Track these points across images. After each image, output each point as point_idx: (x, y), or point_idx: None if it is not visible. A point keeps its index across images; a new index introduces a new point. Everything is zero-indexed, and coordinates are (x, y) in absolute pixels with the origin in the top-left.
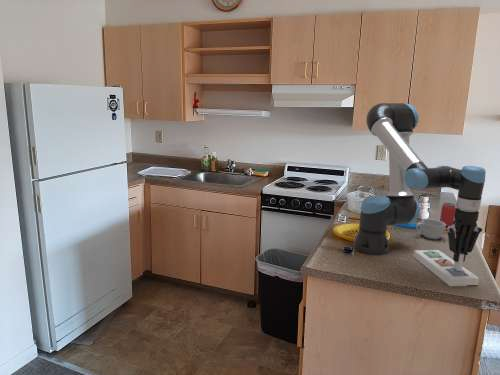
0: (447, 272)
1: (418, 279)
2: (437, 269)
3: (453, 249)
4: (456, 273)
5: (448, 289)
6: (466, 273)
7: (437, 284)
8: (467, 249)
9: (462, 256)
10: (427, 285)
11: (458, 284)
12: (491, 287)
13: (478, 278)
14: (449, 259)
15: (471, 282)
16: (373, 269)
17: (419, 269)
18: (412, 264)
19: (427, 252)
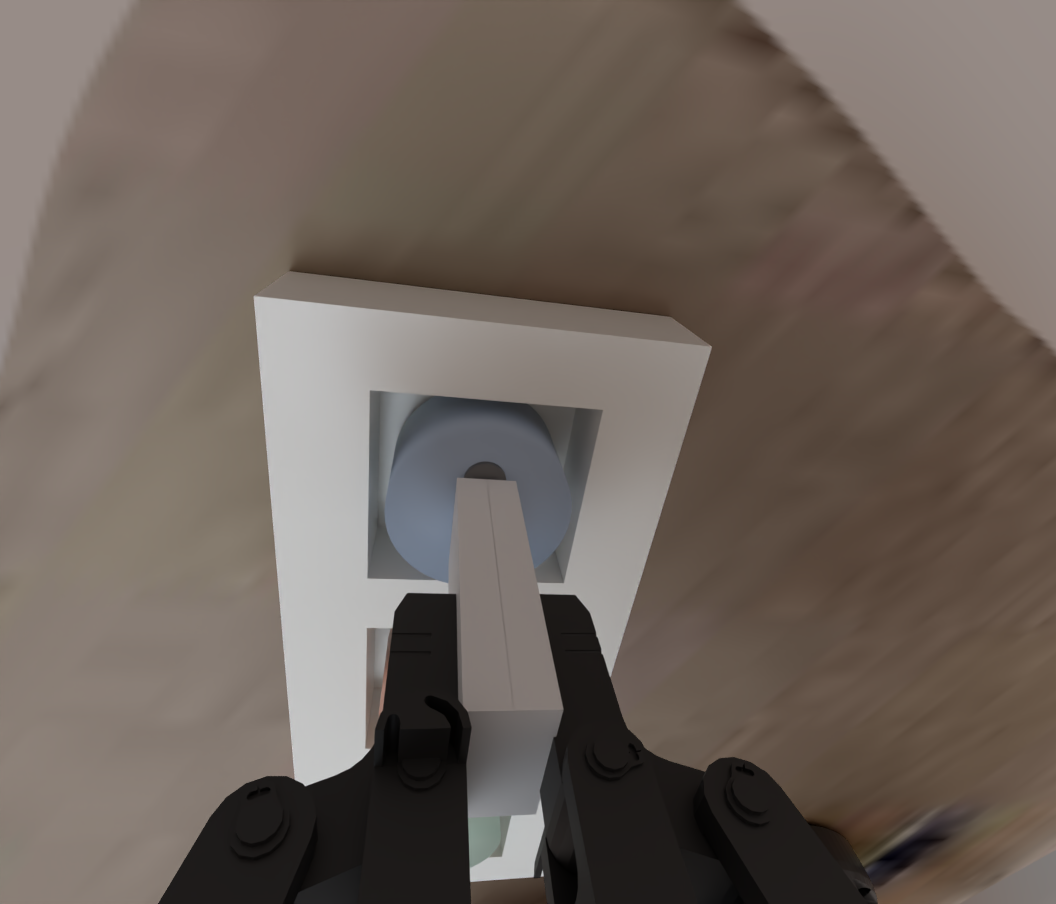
0: (606, 504)
1: (845, 491)
2: (629, 588)
3: (822, 854)
4: (545, 447)
5: (749, 249)
6: (364, 454)
7: (762, 377)
8: (365, 880)
9: (495, 669)
10: (879, 373)
11: (571, 308)
12: (101, 184)
13: (269, 297)
14: (327, 755)
15: (388, 294)
16: (1011, 658)
17: (667, 645)
18: (651, 715)
19: (487, 851)
